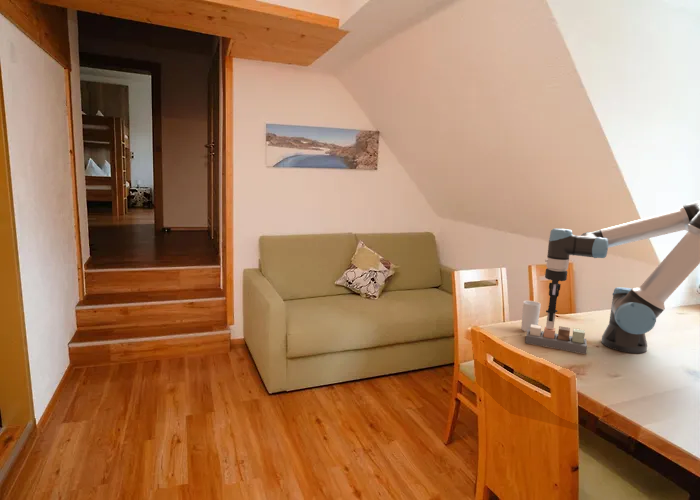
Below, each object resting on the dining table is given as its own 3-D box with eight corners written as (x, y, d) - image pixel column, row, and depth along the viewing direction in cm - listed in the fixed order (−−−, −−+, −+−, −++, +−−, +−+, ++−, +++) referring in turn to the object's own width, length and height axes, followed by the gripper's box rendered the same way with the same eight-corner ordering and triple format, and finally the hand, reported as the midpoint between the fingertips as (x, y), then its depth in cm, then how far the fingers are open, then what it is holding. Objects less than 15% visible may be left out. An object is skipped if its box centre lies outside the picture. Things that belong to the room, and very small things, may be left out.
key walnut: (568, 337, 168) (569, 327, 168) (568, 340, 165) (569, 330, 164) (557, 335, 170) (559, 326, 169) (557, 338, 167) (558, 328, 166)
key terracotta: (554, 338, 171) (555, 328, 170) (553, 341, 167) (555, 331, 167) (543, 336, 172) (544, 326, 172) (543, 339, 169) (544, 329, 168)
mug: (534, 334, 180) (537, 306, 178) (518, 330, 184) (520, 302, 182) (542, 328, 187) (545, 301, 185) (526, 324, 192) (529, 298, 190)
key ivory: (540, 335, 173) (541, 326, 172) (539, 338, 169) (540, 328, 169) (530, 333, 174) (531, 324, 174) (529, 336, 171) (530, 327, 170)
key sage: (583, 340, 166) (584, 330, 165) (583, 343, 163) (584, 333, 162) (572, 338, 168) (573, 328, 167) (572, 341, 164) (573, 331, 164)
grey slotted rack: (585, 346, 168) (586, 338, 168) (586, 354, 160) (587, 346, 160) (527, 335, 178) (528, 328, 177) (525, 342, 170) (526, 335, 169)
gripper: (546, 265, 173) (540, 321, 176) (545, 271, 161) (538, 331, 165) (567, 267, 169) (560, 325, 173) (567, 273, 158) (560, 335, 162)
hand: (549, 328), depth 169 cm, fingers closed
